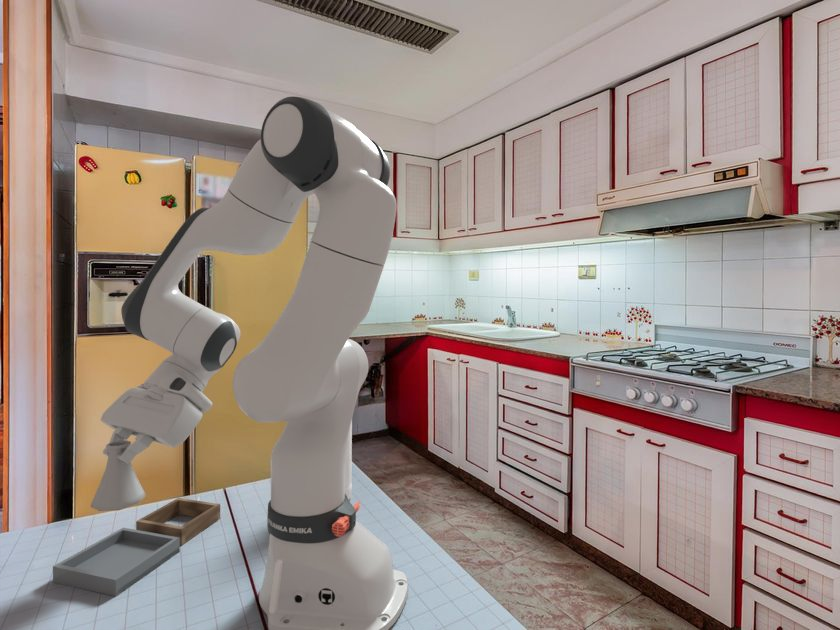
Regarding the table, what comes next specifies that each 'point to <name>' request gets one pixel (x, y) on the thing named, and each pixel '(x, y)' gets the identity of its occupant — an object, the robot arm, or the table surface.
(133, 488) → the flask
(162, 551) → the tray
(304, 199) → the robot arm
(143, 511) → the table surface
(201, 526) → the shaker holder
